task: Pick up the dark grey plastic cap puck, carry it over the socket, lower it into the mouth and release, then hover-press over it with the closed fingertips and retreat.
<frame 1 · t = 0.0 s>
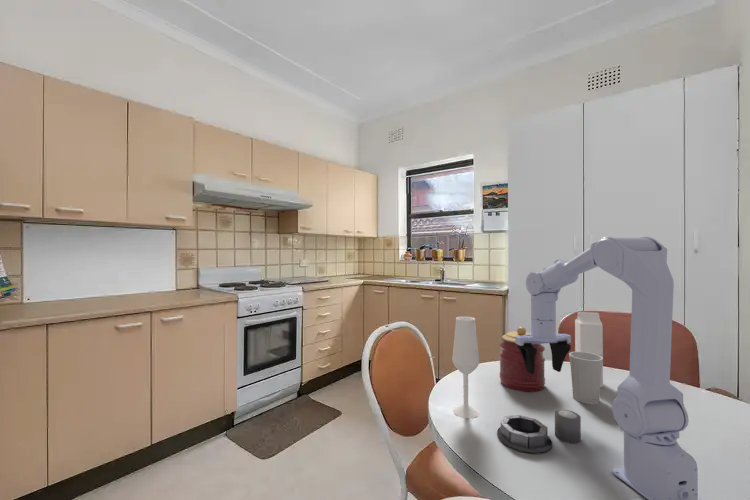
hand: (543, 371, 87), 10 cm above the table, tool pointing down, fingers open, 7 cm apart
cup: (585, 399, 93), on the table
socket: (523, 438, 74), on the table
canister: (521, 384, 104), on the table
cap: (567, 437, 74), on the table
champagne flute: (465, 412, 86), on the table
milk: (588, 383, 105), on the table
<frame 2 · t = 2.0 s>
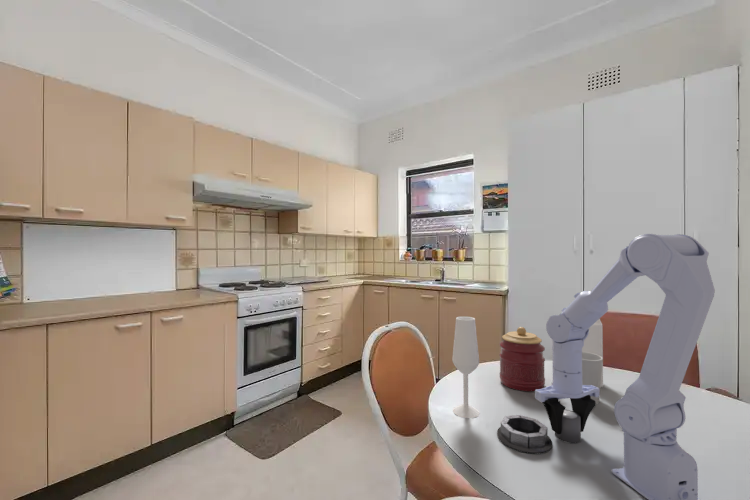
hand: (567, 430, 74), 1 cm above the table, tool pointing down, fingers closed on cap, 5 cm apart
cap: (567, 437, 74), on the table, touching gripper
everything else where it was.
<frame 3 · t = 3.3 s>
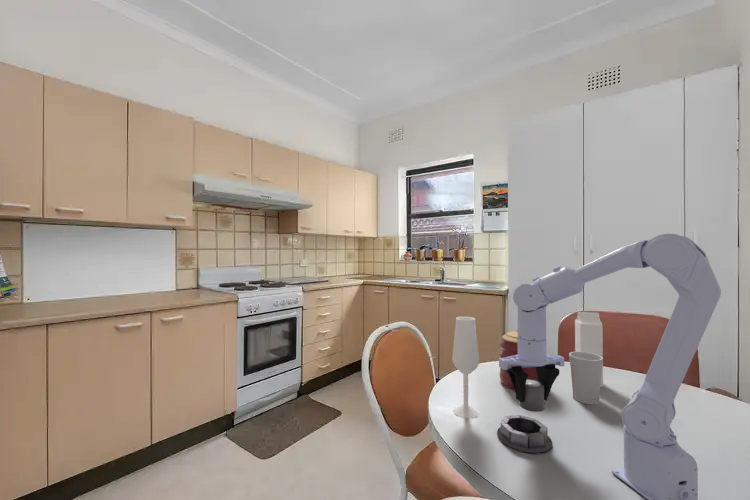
hand: (531, 399, 74), 9 cm above the table, tool pointing down, fingers closed on cap, 5 cm apart
cap: (531, 406, 74), point 7 cm above the table, touching gripper
everything else where it was.
when the fingers open (3 cm above the table, at t = 4.9 s): cap drops 1 cm, resting on socket.
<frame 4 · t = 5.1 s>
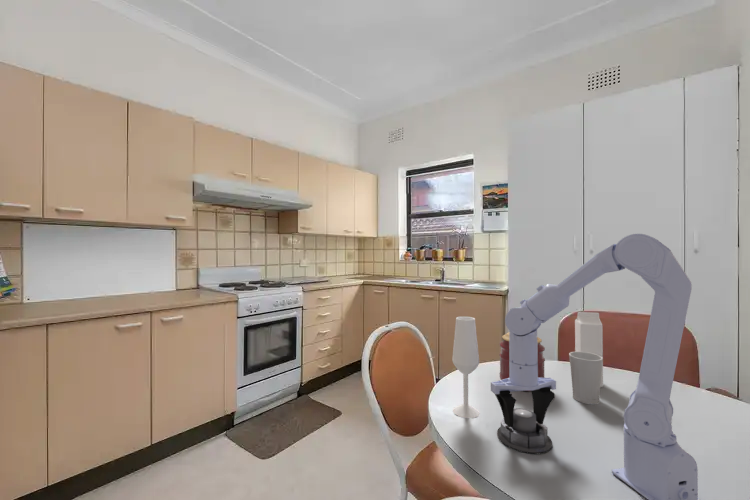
hand: (523, 423, 74), 3 cm above the table, tool pointing down, fingers open, 7 cm apart
cap: (523, 436, 74), resting on socket
everything else where it was.
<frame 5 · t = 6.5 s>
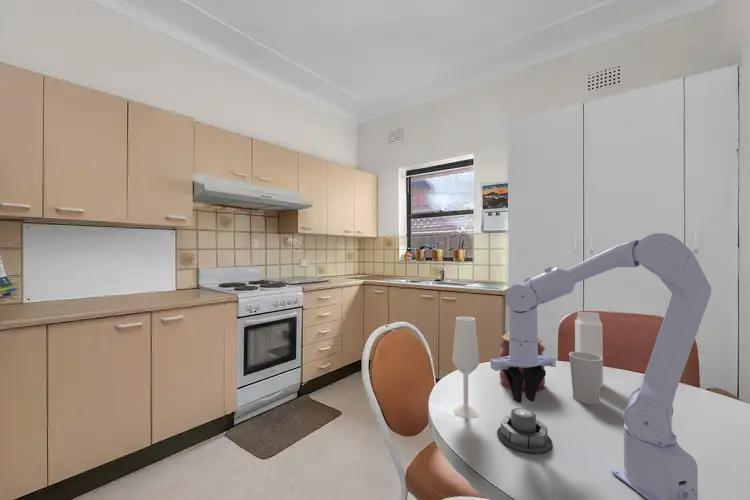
hand: (523, 400, 74), 8 cm above the table, tool pointing down, fingers closed
cap: (523, 436, 74), resting on socket
everything else where it was.
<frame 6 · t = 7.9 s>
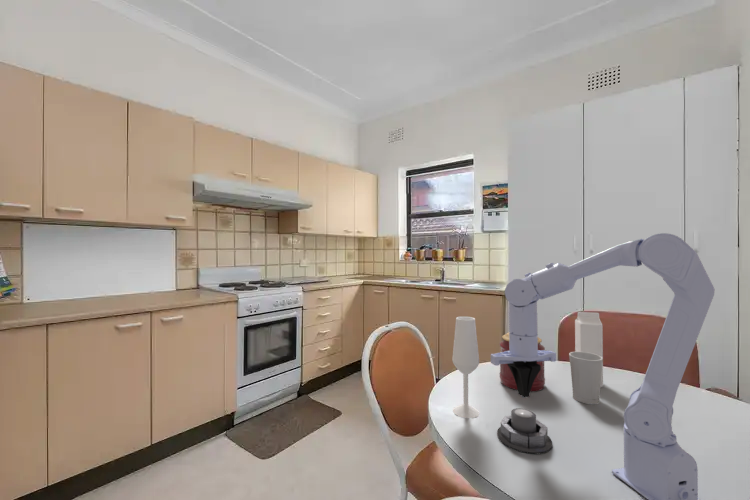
hand: (523, 395, 74), 10 cm above the table, tool pointing down, fingers closed
cap: (523, 436, 74), point 1 cm above the table, touching socket
everything else where it was.
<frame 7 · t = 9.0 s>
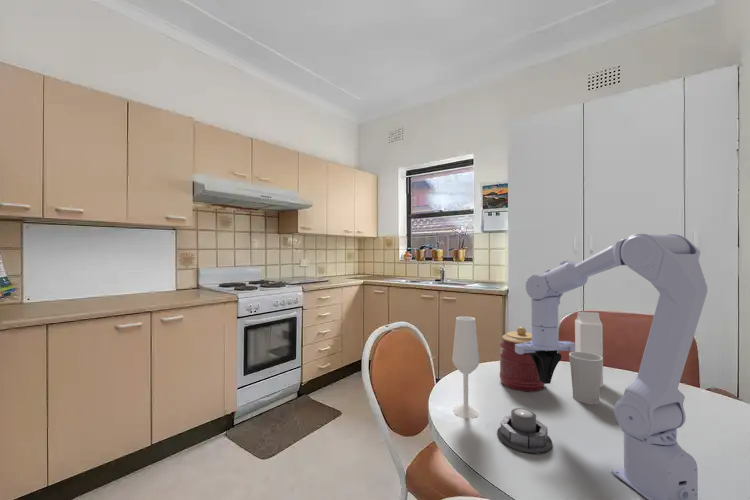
hand: (545, 382, 80), 10 cm above the table, tool pointing down, fingers closed
nothing on the table moved.
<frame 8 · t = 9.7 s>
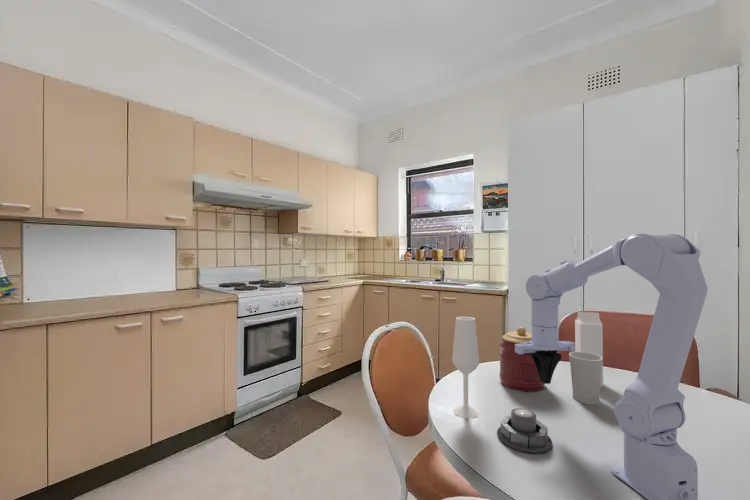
hand: (545, 382, 80), 10 cm above the table, tool pointing down, fingers closed
nothing on the table moved.
at the end: cap 0.1 cm off-centre on the socket, point 0.5 cm above the socket's base; cap tilted 0°; the gripper is holding nothing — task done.
